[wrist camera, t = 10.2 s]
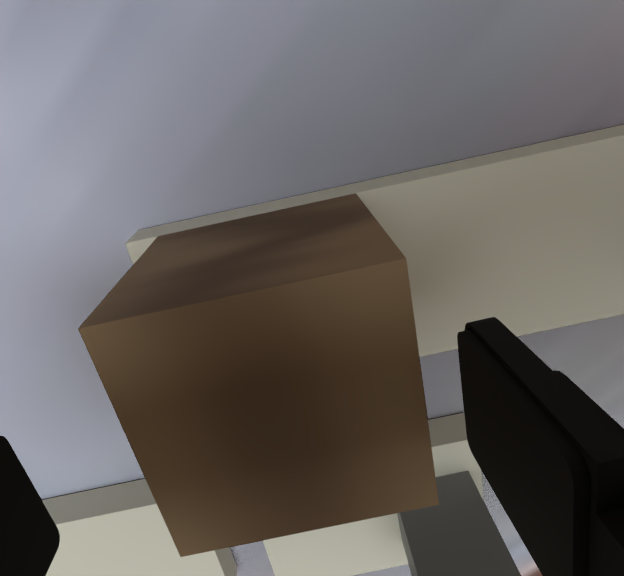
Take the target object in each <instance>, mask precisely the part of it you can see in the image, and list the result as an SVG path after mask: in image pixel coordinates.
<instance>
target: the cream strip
mask: <svg viewBox="0 0 624 576" xmlns="http://www.w3.org/2000/svg"><path fill="white" fill-rule="evenodd" d="M355 193H356V194H357V195H358V197H359V198H360V199H361V201H362V202H363V203H364V204H365V206H366V207H367V208H368V210H369V211H370V212H371V213H372V215H373V216H374V217H375V219H376V220H377V221H378V223H379V224H380V225H381V226H382V228H383V229H384V230H385V232H386V233H387V234H388V235H389V237H390V238H391V239H392V241H393V242H394V243H395V245H396V246H397V247H398V248H399V250H400V251H401V252H402V254H403V255H404V256H405V257H406V260H407V267H408V275H409V282H410V290H411V297H412V305H413V312H414V320H415V327H416V335H417V342H418V350H419V357H422V356H427V355H432V354H436V353H441V352H446V351H451V350H455V349H458V342H457V334H458V332H461V331H465V325H466V323H468V322H473V321H477V320H482V319H486V318H491V317H496V318H497V319H498V320H499V321H501V322H502V323H503V324H504V325H505V326H506V327H507V328H508V329H509V330H510V331H511V332H512V333H513V334H514V335H515V336H516V337H517V336H522V335H527V334H532V333H536V332H541V331H546V330H551V329H556V328H560V327H565V326H570V325H575V324H579V323H584V322H589V321H594V320H598V319H603V318H608V317H613V316H618V315H622V314H624V125H620V126H615V127H610V128H606V129H601V130H597V131H592V132H587V133H583V134H578V135H574V136H569V137H564V138H560V139H555V140H551V141H546V142H541V143H537V144H532V145H528V146H523V147H518V148H514V149H509V150H505V151H500V152H495V153H491V154H486V155H482V156H477V157H472V158H468V159H463V160H459V161H454V162H449V163H445V164H440V165H436V166H431V167H426V168H422V169H417V170H413V171H408V172H403V173H399V174H394V175H390V176H385V177H380V178H376V179H371V180H367V181H362V182H357V183H353V184H348V185H344V186H339V187H334V188H330V189H325V190H321V191H316V192H311V193H307V194H302V195H298V196H293V197H288V198H284V199H279V200H275V201H270V202H265V203H261V204H256V205H252V206H247V207H242V208H238V209H233V210H229V211H224V212H219V213H215V214H210V215H206V216H201V217H196V218H192V219H187V220H183V221H178V222H173V223H169V224H164V225H160V226H155V227H150V228H146V229H141V230H139V231H138V232H137V233H135V234H134V235H133V236H132V237H131V238H130V239H129V240H128V241H127V242H126V243H125V244H126V247H127V249H128V252H129V255H130V257H131V260H132V263H133V265H134V263H135V262H136V261H137V260H138V259H139V258H140V256H141V255H142V254H143V253H144V252H145V251H146V249H147V248H148V247H149V246H150V245H151V244H152V243H153V241H154V240H155V239H156V238H157V237H158V236H161V235H166V234H170V233H175V232H180V231H184V230H189V229H193V228H198V227H203V226H207V225H212V224H216V223H221V222H226V221H230V220H235V219H240V218H244V217H249V216H253V215H258V214H263V213H267V212H272V211H276V210H281V209H286V208H290V207H295V206H299V205H304V204H309V203H313V202H318V201H322V200H327V199H332V198H336V197H341V196H345V195H350V194H355Z"/></svg>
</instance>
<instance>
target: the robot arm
mask: <svg viewBox="0 0 624 576" xmlns="http://www.w3.org/2000/svg"><path fill="white" fill-rule="evenodd" d="M457 342H458V352H459V362H460V373H461V383H462V393H463V404H464V414H465V424H466V435H467V440H468V444H469V447H470V450H471V452H472V454H473V456H474V458H475V460H476V461H477V463H478V465H479V467H480V468H481V470H482V472H483V473H484V475H485V477H486V479H487V480H488V482H489V484H490V486H491V487H492V489H493V491H494V492H495V494H496V496H497V498H498V499H499V501H500V503H501V504H502V506H503V508H504V510H505V511H506V513H507V515H508V517H509V518H510V520H511V522H512V523H513V525H514V527H515V529H516V530H517V532H518V534H519V536H520V537H521V539H522V541H523V542H524V544H525V546H526V548H527V549H528V551H529V553H530V554H531V556H532V558H533V560H534V561H535V563H536V565H537V567H538V568H539V570H540V572H541V573H542V575H543V576H624V429H623V428H622V427H621V426H620V425H619V424H618V423H617V422H616V421H615V420H614V419H612V418H611V417H610V416H609V415H608V414H607V413H606V412H605V411H604V410H603V409H602V408H600V407H599V406H598V405H597V404H596V403H595V402H594V401H593V400H592V399H591V398H590V397H589V396H587V395H586V394H585V393H584V392H583V391H582V390H581V389H580V388H579V387H578V386H577V385H576V384H574V383H573V382H572V381H571V380H570V379H569V378H568V377H567V376H566V375H564V374H563V373H561V372H560V371H555V370H554V371H552V370H551V369H550V368H549V367H548V366H547V365H546V364H545V363H544V362H543V361H542V360H541V359H540V358H539V357H537V356H536V355H535V354H534V353H533V352H532V351H531V350H530V349H529V348H528V347H527V346H526V345H525V344H524V343H523V342H522V341H521V340H520V339H518V338H517V337H516V336H515V335H514V334H513V333H512V332H511V331H510V330H509V329H508V328H507V327H506V326H505V325H504V324H503V323H502V322H501V321H499V320H498V319H497V318H496V317H491V318H486V319H482V320H477V321H473V322H468V323H466V325H465V331H461V332H458V334H457ZM59 542H60V535H59V530H58V528H57V526H56V524H55V523H54V521H53V519H52V517H51V516H50V514H49V512H48V510H47V509H46V507H45V505H44V503H43V502H42V500H41V498H40V496H39V495H38V493H37V491H36V489H35V488H34V486H33V484H32V482H31V481H30V479H29V477H28V475H27V474H26V472H25V470H24V468H23V466H22V465H21V463H20V461H19V459H18V458H17V456H16V454H15V452H14V451H13V449H12V447H11V445H10V444H9V442H8V440H7V439H6V438H5V437H3V436H0V576H46V574H47V571H48V569H49V567H50V565H51V563H52V561H53V559H54V556H55V554H56V552H57V550H58V547H59Z"/></svg>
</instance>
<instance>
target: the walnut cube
mask: <svg viewBox="0 0 624 576" xmlns="http://www.w3.org/2000/svg"><path fill="white" fill-rule="evenodd" d="M78 330H79V332H80V334H81V336H82V339H83V341H84V343H85V345H86V347H87V350H88V352H89V354H90V356H91V359H92V361H93V363H94V365H95V368H96V370H97V372H98V374H99V376H100V379H101V381H102V383H103V385H104V388H105V390H106V392H107V394H108V397H109V399H110V401H111V403H112V405H113V408H114V410H115V412H116V414H117V417H118V419H119V421H120V423H121V425H122V428H123V430H124V432H125V434H126V437H127V439H128V441H129V443H130V446H131V448H132V450H133V452H134V454H135V457H136V459H137V461H138V463H139V466H140V468H141V470H142V472H143V474H144V477H145V479H146V481H147V483H148V486H149V488H150V490H151V492H152V495H153V497H154V499H155V501H156V503H157V506H158V508H159V510H160V512H161V515H162V517H163V519H164V521H165V524H166V526H167V528H168V530H169V532H170V535H171V537H172V539H173V541H174V544H175V546H176V548H177V550H178V552H179V555H180V557H184V556H189V555H194V554H199V553H204V552H209V551H214V550H219V549H223V548H228V547H233V546H238V545H243V544H248V543H253V542H258V541H263V540H268V539H273V538H278V537H282V536H287V535H292V534H297V533H302V532H307V531H312V530H317V529H322V528H327V527H332V526H336V525H341V524H346V523H351V522H356V521H361V520H366V519H371V518H376V517H381V516H386V515H391V514H395V513H400V512H405V511H410V510H415V509H420V508H425V507H430V506H435V505H439V500H438V492H437V485H436V477H435V470H434V462H433V455H432V447H431V440H430V432H429V425H428V417H427V410H426V402H425V395H424V387H423V380H422V372H421V365H420V357H419V350H418V342H417V335H416V327H415V320H414V312H413V305H412V297H411V290H410V282H409V275H408V267H407V260H406V257H405V256H404V255H403V254H402V252H401V251H400V250H399V248H398V247H397V246H396V245H395V243H394V242H393V241H392V239H391V238H390V237H389V235H388V234H387V233H386V232H385V230H384V229H383V228H382V226H381V225H380V224H379V223H378V221H377V220H376V219H375V217H374V216H373V215H372V213H371V212H370V211H369V210H368V208H367V207H366V206H365V204H364V203H363V202H362V201H361V199H360V198H359V197H358V195H357V194H356V193H355V194H350V195H345V196H341V197H336V198H332V199H327V200H322V201H318V202H313V203H309V204H304V205H299V206H295V207H290V208H286V209H281V210H276V211H272V212H267V213H263V214H258V215H253V216H249V217H244V218H240V219H235V220H230V221H226V222H221V223H216V224H212V225H207V226H203V227H198V228H193V229H189V230H184V231H180V232H175V233H170V234H166V235H161V236H158V237H157V238H156V239H155V240H154V241H153V243H152V244H151V245H150V246H149V247H148V248H147V249H146V251H145V252H144V253H143V254H142V255H141V256H140V258H139V259H138V260H137V261H136V262H135V263H134V265H133V266H132V267H131V268H130V269H129V270H128V271H127V273H126V274H125V275H124V276H123V277H122V278H121V280H120V281H119V282H118V283H117V284H116V285H115V287H114V288H113V289H112V290H111V291H110V292H109V293H108V295H107V296H106V297H105V298H104V299H103V300H102V302H101V303H100V304H99V305H98V306H97V307H96V309H95V310H94V311H93V312H92V313H91V314H90V315H89V317H88V318H87V319H86V320H85V321H84V322H83V324H82V325H81V326H80V327H79V328H78Z"/></svg>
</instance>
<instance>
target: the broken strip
mask: <svg viewBox="0 0 624 576" xmlns="http://www.w3.org/2000/svg"><path fill="white" fill-rule="evenodd" d="M428 425H429V432H430V440H431V447H432V455H433V462H434V470H435V477H436V485H437V492H438V500H439V505H435V506H430V507H425V508H420V509H415V510H410V511H405V512H400V513H395V514H391V515H386V516H381V517H376V518H371V519H366V520H361V521H356V522H351V523H346V524H341V525H336V526H332V527H327V528H322V529H317V530H312V531H307V532H302V533H297V534H292V535H287V536H282V537H278V538H273V539H268V540H263V542H264V545H265V548H266V551H267V554H268V557H269V560H270V563H271V565H272V568H273V571H274V574H275V576H352V575H357V574H362V573H367V572H372V571H377V570H382V569H387V568H392V567H397V566H402V565H407V564H409V568H410V571H411V575H412V576H521V575H520V573H519V571H518V569H517V567H516V565H515V563H514V561H513V559H512V557H511V555H510V553H509V551H508V549H507V547H506V545H505V543H504V541H503V539H502V537H501V535H500V533H499V531H498V529H497V527H496V525H495V523H494V521H493V519H492V517H491V515H490V513H489V511H488V509H487V507H486V505H485V503H484V499H483V487H482V475H481V468H480V467H479V465H478V463H477V461H476V460H475V458H474V456H473V454H472V452H471V450H470V447H469V444H468V440H467V435H466V424H465V414H464V413H460V414H455V415H450V416H445V417H440V418H436V419H431V420H428ZM42 502H43V503H44V505H45V507H46V509H47V510H48V512H49V514H50V516H51V517H52V519H53V521H54V523H55V524H56V526H57V528H58V530H59V535H60V542H59V547H58V550H57V552H56V554H55V556H54V559H53V561H52V563H51V565H50V567H49V569H48V571H47V574H46V576H236V575H237V565H236V562H235V560H234V557H233V555H232V552H231V549H230V547H228V548H223V549H219V550H214V551H209V552H204V553H199V554H194V555H189V556H184V557H180V555H179V552H178V550H177V548H176V546H175V544H174V541H173V539H172V537H171V535H170V532H169V530H168V528H167V526H166V524H165V521H164V519H163V517H162V515H161V512H160V510H159V508H158V506H157V503H156V501H155V499H154V497H153V495H152V492H151V490H150V488H149V486H148V483H147V481H146V479H141V480H136V481H131V482H126V483H122V484H117V485H112V486H107V487H102V488H98V489H93V490H88V491H83V492H78V493H73V494H69V495H64V496H59V497H54V498H49V499H44V500H42Z"/></svg>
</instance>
